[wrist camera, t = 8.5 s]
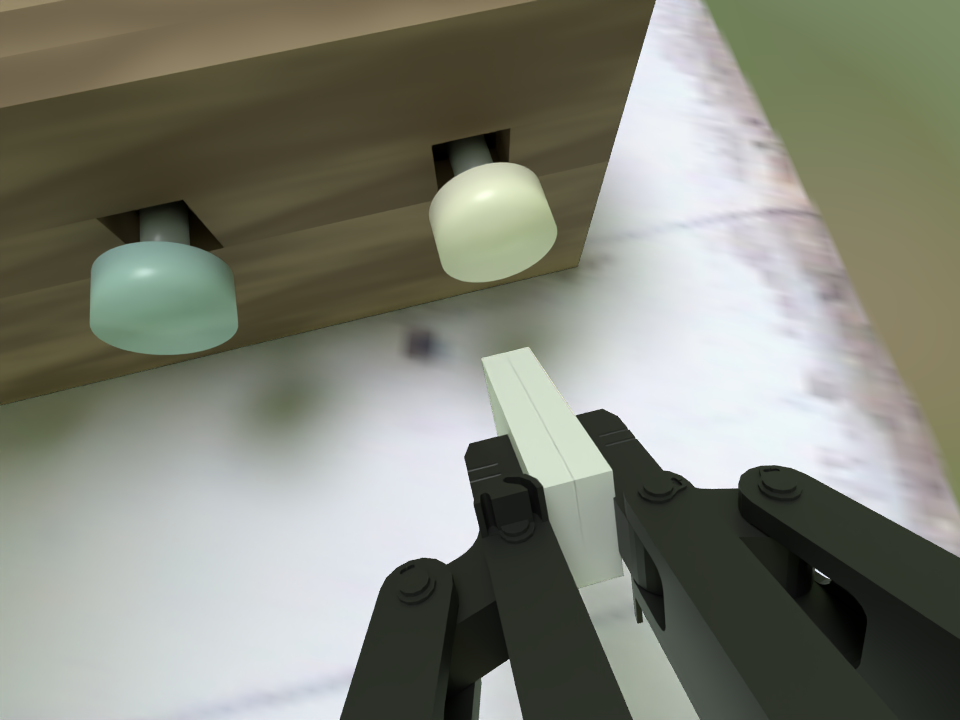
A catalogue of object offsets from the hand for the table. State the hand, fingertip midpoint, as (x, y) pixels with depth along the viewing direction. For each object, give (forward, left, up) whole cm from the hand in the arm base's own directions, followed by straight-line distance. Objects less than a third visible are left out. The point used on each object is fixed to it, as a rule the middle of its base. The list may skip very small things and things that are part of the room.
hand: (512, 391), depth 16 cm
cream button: (+5, +7, -3) cm, 9 cm away
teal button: (-6, +12, -3) cm, 14 cm away
